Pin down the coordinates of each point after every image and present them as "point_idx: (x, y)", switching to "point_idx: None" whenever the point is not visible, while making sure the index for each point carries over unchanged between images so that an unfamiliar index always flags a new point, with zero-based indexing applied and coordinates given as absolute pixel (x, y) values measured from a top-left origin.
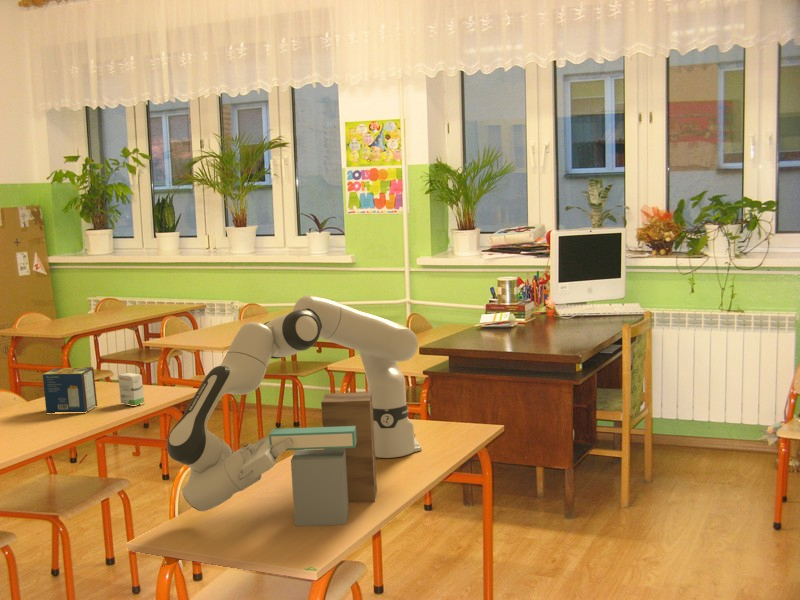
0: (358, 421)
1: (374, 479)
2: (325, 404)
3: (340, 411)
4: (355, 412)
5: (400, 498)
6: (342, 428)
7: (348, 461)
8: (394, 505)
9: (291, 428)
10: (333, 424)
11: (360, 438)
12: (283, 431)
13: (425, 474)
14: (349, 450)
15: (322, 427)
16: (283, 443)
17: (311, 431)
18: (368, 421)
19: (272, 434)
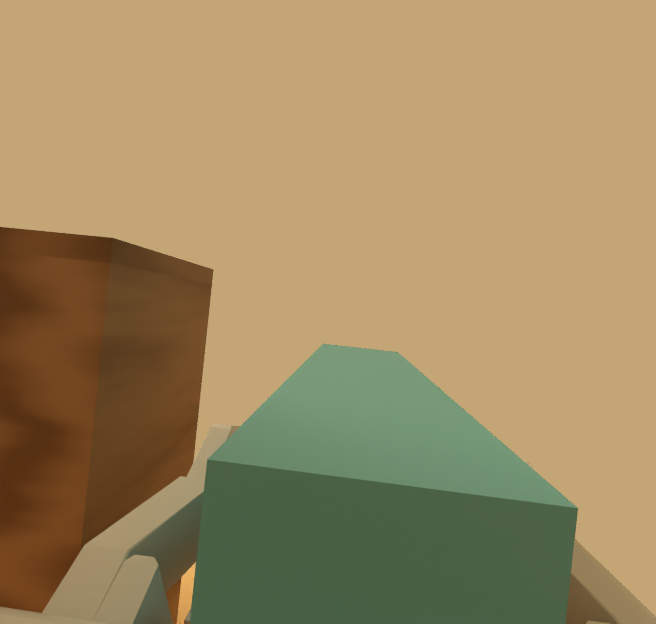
0: (187, 348)
1: None
2: (124, 256)
3: (159, 303)
4: (187, 311)
5: (186, 582)
6: (351, 351)
7: None
8: None
9: (285, 391)
10: (133, 371)
11: (183, 417)
12: (387, 420)
13: None
14: (156, 484)
15: (317, 358)
16: None
17: (395, 375)
18: (202, 346)
19: (546, 484)
